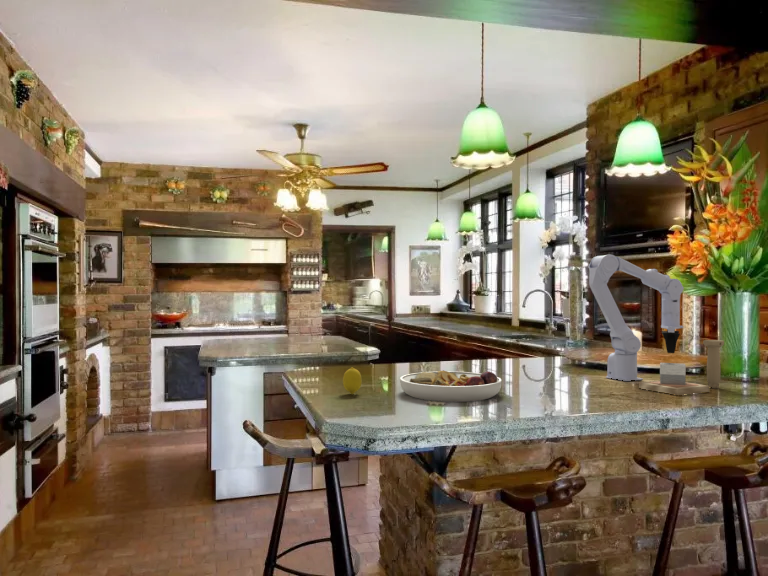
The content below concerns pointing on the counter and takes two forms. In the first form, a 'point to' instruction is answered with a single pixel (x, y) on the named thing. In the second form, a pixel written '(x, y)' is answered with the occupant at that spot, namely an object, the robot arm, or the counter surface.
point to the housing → (673, 373)
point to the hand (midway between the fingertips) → (670, 352)
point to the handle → (713, 362)
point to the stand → (674, 387)
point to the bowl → (451, 386)
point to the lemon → (352, 380)
